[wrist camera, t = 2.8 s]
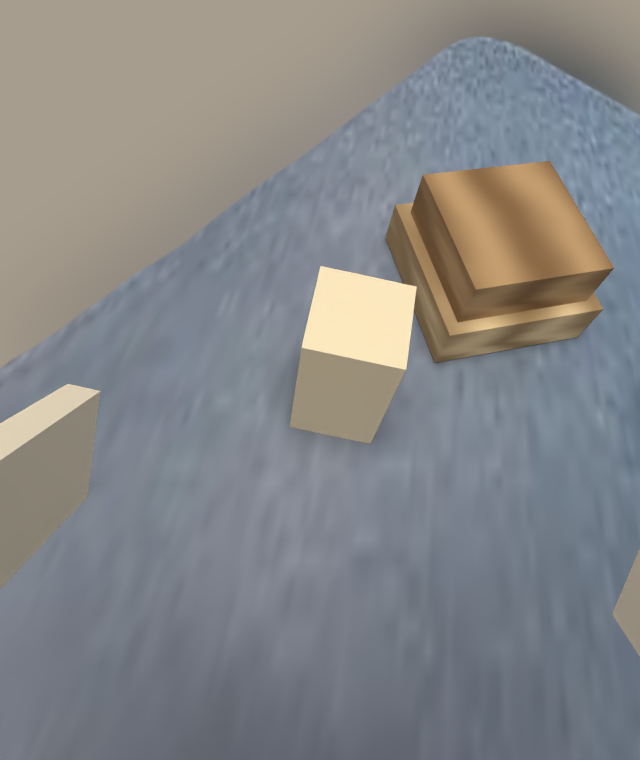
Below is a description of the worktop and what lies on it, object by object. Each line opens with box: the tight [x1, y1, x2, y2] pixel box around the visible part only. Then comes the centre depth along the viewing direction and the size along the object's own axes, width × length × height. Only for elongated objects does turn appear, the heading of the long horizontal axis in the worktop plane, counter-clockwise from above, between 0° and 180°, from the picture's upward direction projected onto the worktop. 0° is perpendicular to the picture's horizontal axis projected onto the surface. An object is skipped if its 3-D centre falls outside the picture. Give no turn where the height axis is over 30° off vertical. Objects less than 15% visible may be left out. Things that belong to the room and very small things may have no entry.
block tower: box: [386, 161, 614, 363], centre depth 47 cm, size 13×13×8 cm
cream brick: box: [290, 266, 417, 444], centre depth 39 cm, size 6×6×11 cm
